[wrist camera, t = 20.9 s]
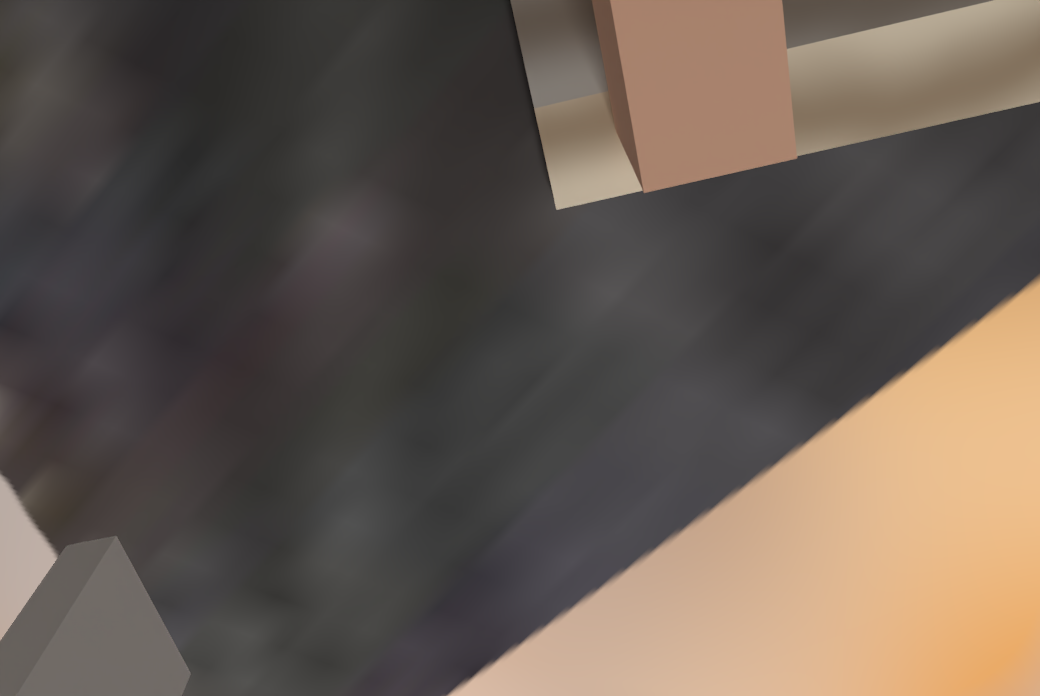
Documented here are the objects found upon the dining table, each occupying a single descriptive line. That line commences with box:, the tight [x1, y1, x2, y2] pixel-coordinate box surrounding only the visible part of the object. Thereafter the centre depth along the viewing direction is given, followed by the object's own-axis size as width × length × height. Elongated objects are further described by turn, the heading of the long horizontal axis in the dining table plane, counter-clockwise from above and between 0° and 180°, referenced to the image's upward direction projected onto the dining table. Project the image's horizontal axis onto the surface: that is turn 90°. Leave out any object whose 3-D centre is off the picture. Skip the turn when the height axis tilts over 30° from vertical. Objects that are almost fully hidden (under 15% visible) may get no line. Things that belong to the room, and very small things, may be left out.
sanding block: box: [592, 0, 797, 193], centre depth 28 cm, size 7×4×8 cm, turn 13°
